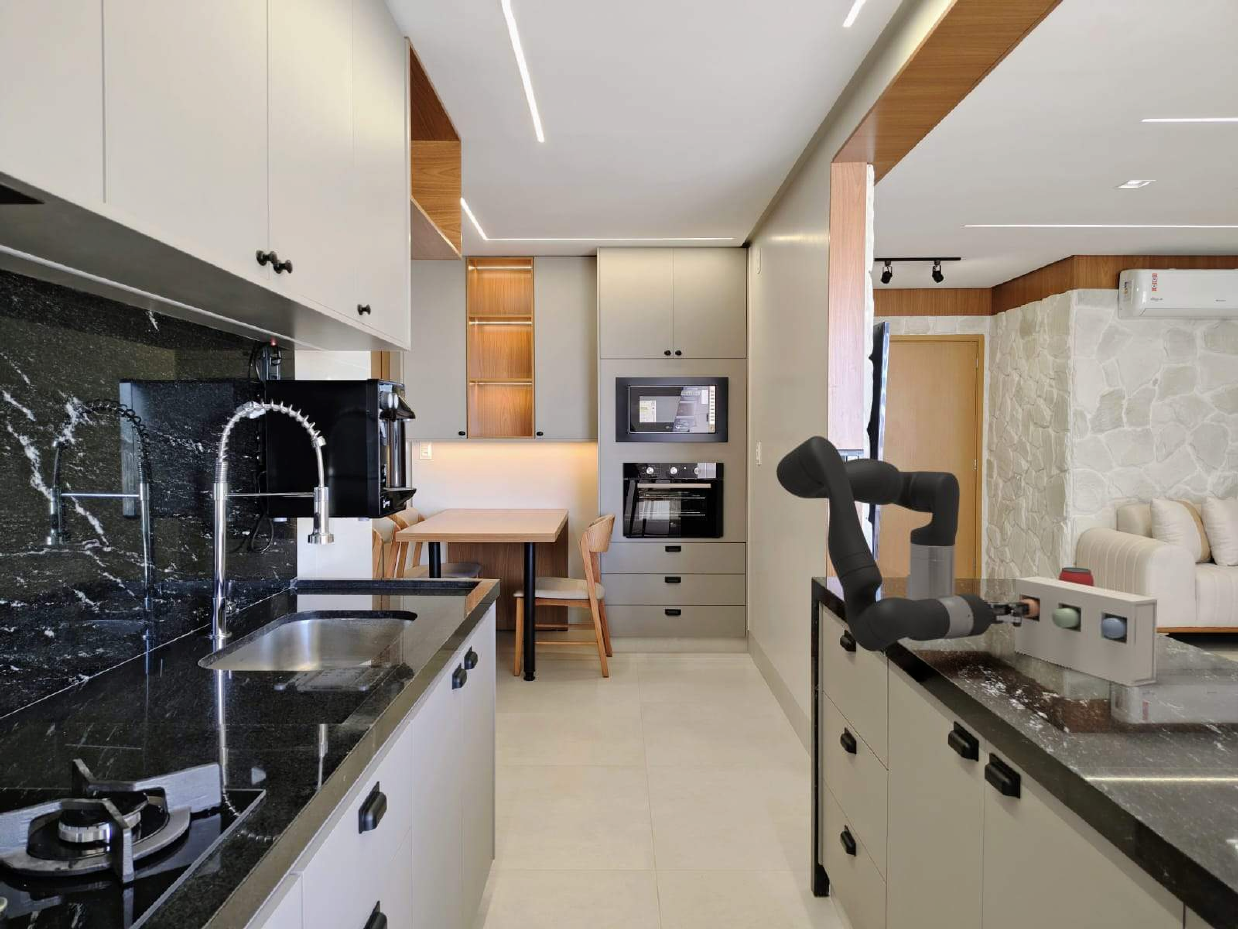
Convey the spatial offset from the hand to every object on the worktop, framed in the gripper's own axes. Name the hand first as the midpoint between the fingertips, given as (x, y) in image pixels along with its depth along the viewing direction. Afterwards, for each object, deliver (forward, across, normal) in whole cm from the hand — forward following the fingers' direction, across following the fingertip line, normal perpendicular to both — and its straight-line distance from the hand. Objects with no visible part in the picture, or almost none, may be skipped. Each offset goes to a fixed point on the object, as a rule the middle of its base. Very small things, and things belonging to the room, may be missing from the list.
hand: (1025, 608), depth 139 cm
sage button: (+1, -8, +2) cm, 8 cm away
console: (+4, -8, +9) cm, 13 cm away
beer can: (+32, +14, +9) cm, 36 cm away
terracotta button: (+2, 0, +2) cm, 2 cm away
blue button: (+2, -16, +2) cm, 16 cm away
